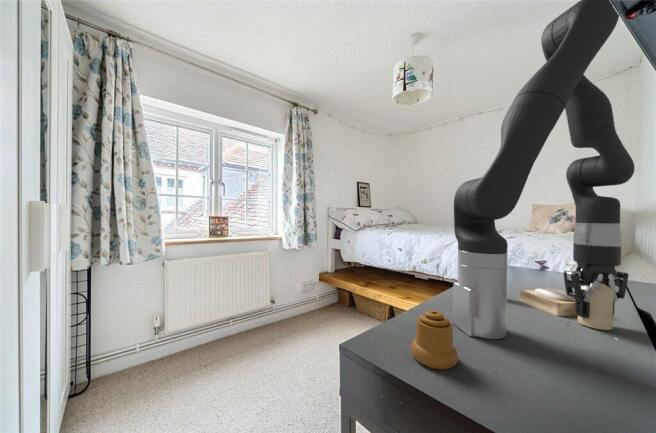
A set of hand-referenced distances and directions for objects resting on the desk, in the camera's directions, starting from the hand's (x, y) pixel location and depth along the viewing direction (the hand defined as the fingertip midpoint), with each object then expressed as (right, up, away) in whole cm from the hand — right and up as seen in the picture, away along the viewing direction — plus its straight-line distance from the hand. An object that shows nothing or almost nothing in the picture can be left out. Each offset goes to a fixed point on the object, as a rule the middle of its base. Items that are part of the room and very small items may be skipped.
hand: (594, 316), depth 58 cm
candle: (0, -2, 0) cm, 2 cm away
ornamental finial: (-43, -2, -14) cm, 45 cm away
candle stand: (+2, -2, +12) cm, 12 cm away
